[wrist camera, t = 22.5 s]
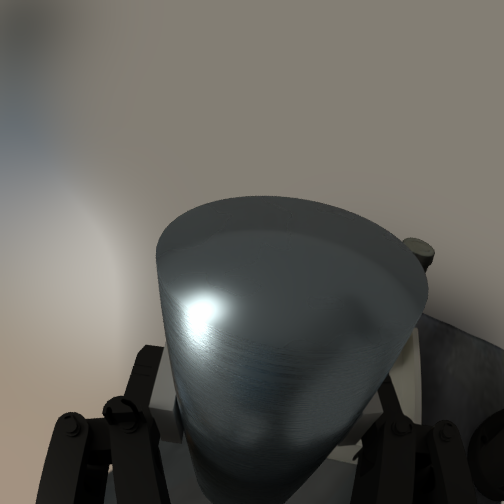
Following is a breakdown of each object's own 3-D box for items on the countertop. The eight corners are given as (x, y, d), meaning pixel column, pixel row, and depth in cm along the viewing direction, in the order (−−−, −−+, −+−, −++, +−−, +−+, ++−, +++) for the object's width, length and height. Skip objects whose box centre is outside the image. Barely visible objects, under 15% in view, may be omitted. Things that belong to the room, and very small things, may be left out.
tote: (327, 329, 47) (335, 306, 45) (405, 349, 44) (417, 328, 41) (290, 448, 29) (300, 431, 27) (399, 470, 25) (419, 454, 23)
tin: (285, 424, 17) (355, 200, 10) (309, 505, 12) (477, 320, 5) (192, 433, 16) (167, 195, 9) (201, 519, 11) (139, 365, 4)
